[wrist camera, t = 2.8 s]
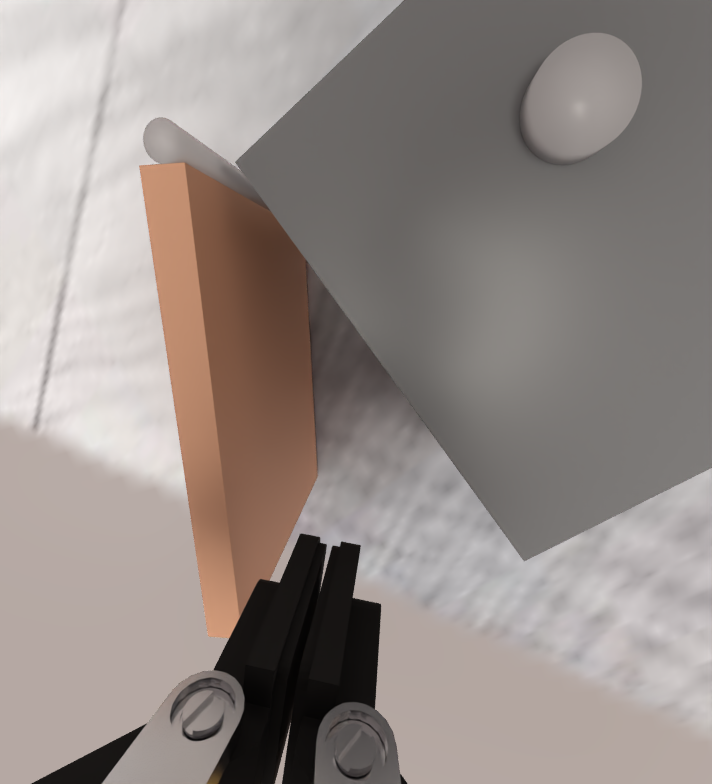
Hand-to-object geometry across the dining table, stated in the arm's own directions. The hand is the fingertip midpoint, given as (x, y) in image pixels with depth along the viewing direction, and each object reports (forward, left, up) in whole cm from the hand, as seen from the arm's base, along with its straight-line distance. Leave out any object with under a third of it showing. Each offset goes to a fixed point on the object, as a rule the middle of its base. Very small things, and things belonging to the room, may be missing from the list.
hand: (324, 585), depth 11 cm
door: (+1, -6, -13) cm, 15 cm away
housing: (-10, -3, -14) cm, 17 cm away
